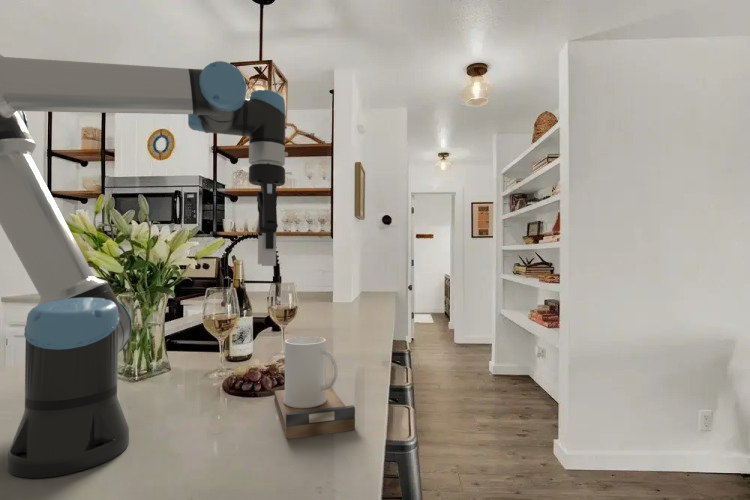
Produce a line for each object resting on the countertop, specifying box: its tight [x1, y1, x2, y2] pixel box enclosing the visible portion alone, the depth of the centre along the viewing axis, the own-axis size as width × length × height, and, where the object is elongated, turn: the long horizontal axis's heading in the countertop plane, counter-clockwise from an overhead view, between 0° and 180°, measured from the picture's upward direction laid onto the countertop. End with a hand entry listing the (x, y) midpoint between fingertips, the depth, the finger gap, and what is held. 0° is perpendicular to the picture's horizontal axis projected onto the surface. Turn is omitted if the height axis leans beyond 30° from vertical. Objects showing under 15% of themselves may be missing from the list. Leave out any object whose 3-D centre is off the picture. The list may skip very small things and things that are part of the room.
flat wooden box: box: [274, 387, 356, 440], centre depth 82 cm, size 12×20×4 cm, turn 19°
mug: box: [283, 336, 339, 408], centre depth 83 cm, size 12×8×12 cm
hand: (266, 265), depth 91 cm, fingers open, 13 cm apart
